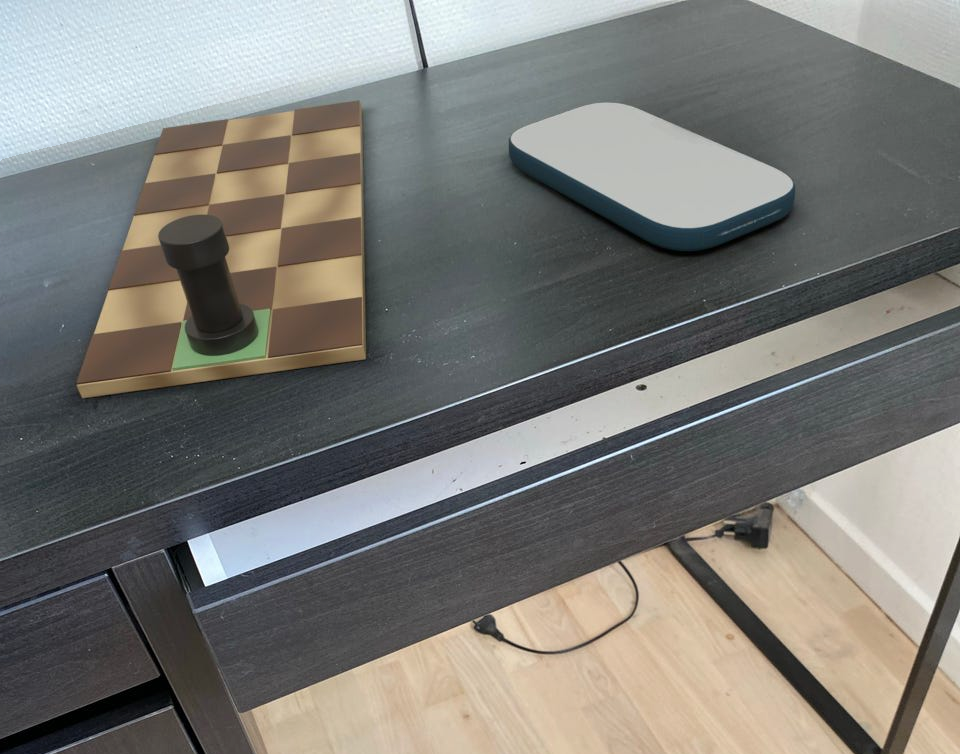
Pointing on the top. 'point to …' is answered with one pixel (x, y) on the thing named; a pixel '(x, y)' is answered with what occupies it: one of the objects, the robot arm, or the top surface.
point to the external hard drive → (652, 175)
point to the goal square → (255, 350)
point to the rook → (207, 285)
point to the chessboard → (244, 247)
